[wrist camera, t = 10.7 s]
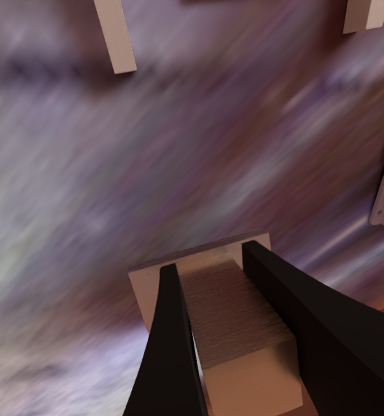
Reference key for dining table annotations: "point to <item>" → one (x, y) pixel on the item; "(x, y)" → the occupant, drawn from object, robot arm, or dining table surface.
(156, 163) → the dining table surface
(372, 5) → the frame
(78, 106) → the dining table surface
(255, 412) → the scraper
